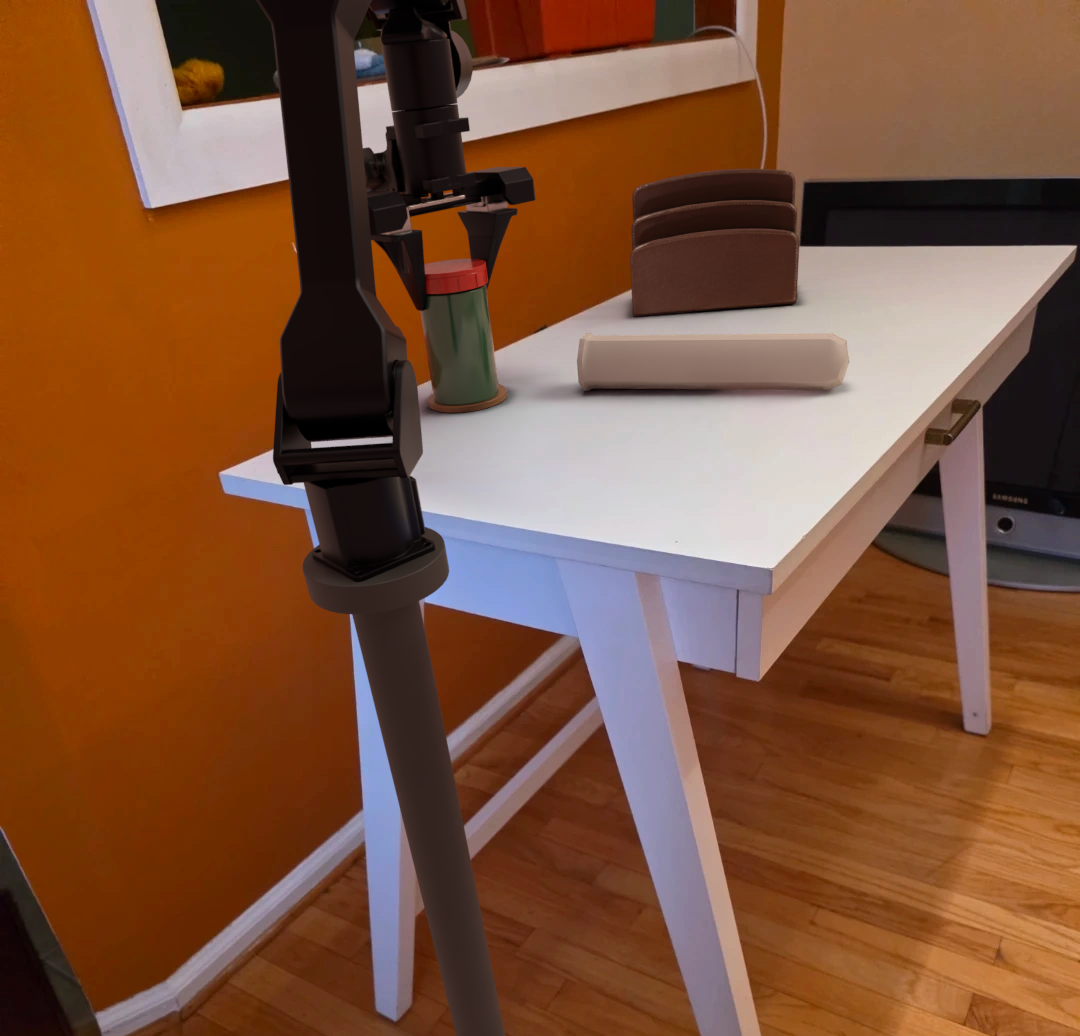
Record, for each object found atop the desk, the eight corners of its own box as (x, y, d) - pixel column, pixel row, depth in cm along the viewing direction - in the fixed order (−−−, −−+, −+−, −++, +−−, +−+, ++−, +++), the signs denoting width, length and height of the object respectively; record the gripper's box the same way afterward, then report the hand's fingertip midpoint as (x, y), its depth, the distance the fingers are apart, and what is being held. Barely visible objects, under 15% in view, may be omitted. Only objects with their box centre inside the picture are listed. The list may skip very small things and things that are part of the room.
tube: (854, 332, 87) (594, 335, 95) (851, 327, 82) (577, 330, 90) (847, 394, 88) (592, 391, 97) (844, 392, 84) (575, 389, 92)
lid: (488, 288, 86) (486, 268, 86) (412, 297, 86) (409, 277, 86) (487, 274, 92) (485, 255, 91) (415, 283, 92) (412, 264, 91)
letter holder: (636, 299, 125) (631, 178, 117) (790, 287, 122) (796, 161, 114) (631, 317, 117) (626, 188, 109) (797, 305, 114) (803, 170, 106)
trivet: (459, 418, 91) (458, 411, 91) (413, 404, 96) (412, 398, 96) (523, 395, 95) (522, 389, 95) (475, 383, 100) (474, 378, 100)
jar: (500, 400, 92) (484, 273, 86) (432, 408, 92) (412, 282, 86) (498, 382, 98) (483, 261, 91) (434, 389, 98) (415, 269, 91)
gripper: (456, 100, 91) (478, 276, 100) (284, 125, 82) (325, 315, 91) (530, 94, 84) (546, 284, 93) (350, 120, 75) (388, 328, 84)
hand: (452, 301), depth 90 cm, fingers closed on lid, 7 cm apart
